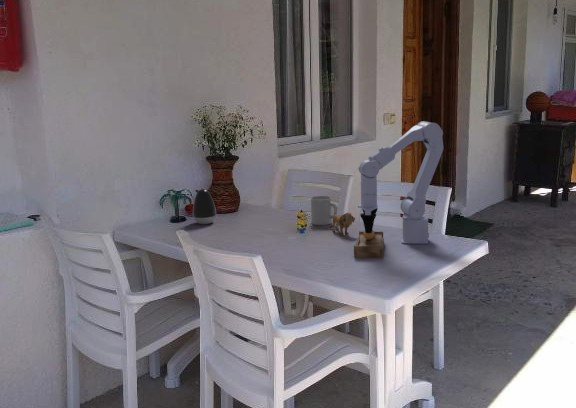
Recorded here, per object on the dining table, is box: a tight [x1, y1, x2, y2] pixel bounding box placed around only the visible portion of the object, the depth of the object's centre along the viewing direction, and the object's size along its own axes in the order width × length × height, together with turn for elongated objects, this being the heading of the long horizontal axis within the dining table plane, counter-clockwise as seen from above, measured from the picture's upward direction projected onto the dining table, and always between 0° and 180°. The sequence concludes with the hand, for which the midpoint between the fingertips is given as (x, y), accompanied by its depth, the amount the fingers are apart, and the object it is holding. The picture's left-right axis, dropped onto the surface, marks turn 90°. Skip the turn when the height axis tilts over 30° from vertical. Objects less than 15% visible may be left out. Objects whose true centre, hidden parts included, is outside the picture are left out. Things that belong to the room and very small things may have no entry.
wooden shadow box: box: [353, 230, 385, 259], centre depth 211 cm, size 10×19×4 cm, turn 169°
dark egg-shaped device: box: [192, 188, 217, 225], centre depth 259 cm, size 10×10×15 cm
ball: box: [363, 229, 375, 240], centre depth 215 cm, size 4×4×4 cm
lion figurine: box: [329, 212, 356, 236], centre depth 235 cm, size 15×5×9 cm, turn 33°
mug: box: [310, 195, 338, 226], centre depth 250 cm, size 12×8×11 cm
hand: (369, 230), depth 216 cm, fingers open, 7 cm apart
